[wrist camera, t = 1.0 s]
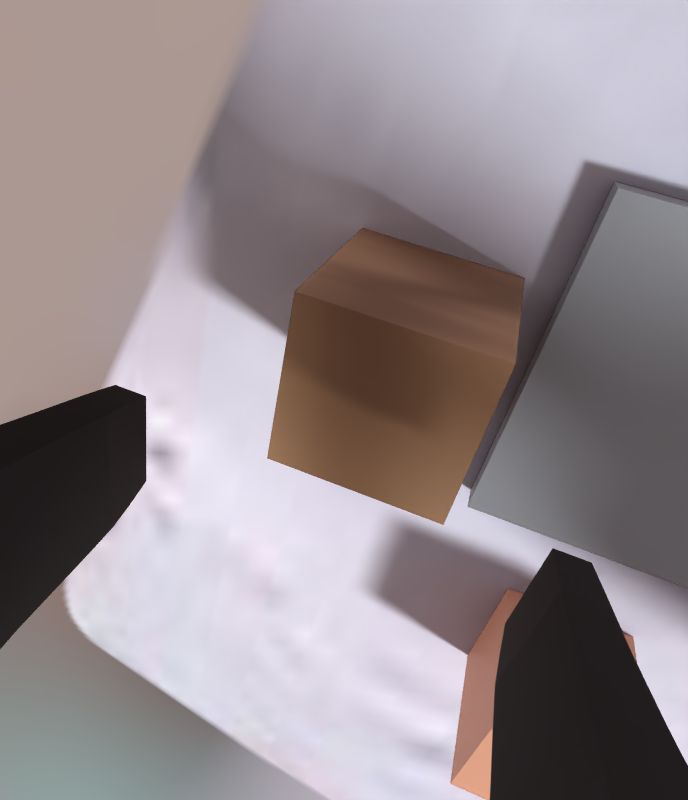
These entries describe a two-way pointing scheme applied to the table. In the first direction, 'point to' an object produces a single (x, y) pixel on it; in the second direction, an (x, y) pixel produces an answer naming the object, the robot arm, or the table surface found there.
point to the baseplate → (607, 399)
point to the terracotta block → (483, 703)
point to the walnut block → (395, 370)
